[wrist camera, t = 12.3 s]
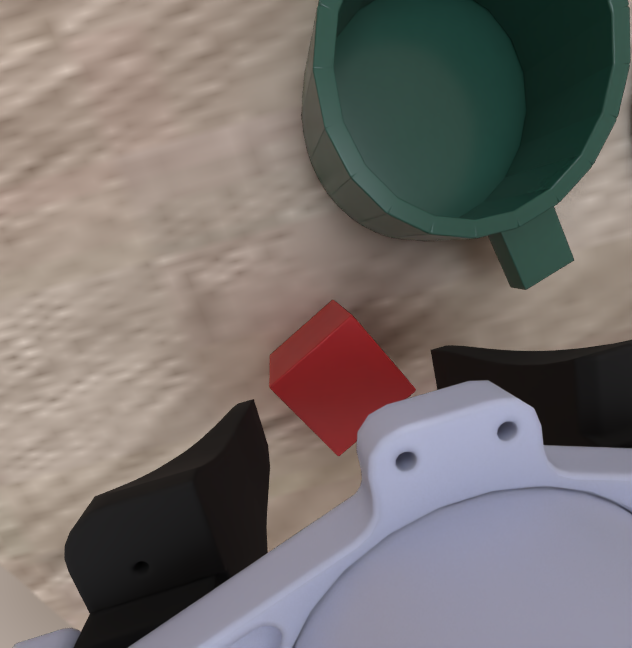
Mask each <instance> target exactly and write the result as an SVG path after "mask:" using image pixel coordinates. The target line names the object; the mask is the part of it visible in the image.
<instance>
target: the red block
mask: <svg viewBox="0 0 632 648" xmlns="http://www.w3.org/2000/svg"><path fill="white" fill-rule="evenodd" d="M269 387H270V389H271V390H272V391H273V392H274V393H275V394H276V395H277V396H278V397H279V398H280V399H281V400H282V401H283V402H284V403H285V404H286V405H287V406H288V407H289V408H290V409H291V410H292V411H293V412H294V413H295V414H296V415H297V416H298V417H299V418H300V419H301V420H302V421H303V422H304V423H305V424H306V425H307V426H308V427H309V428H310V429H311V430H312V431H313V432H314V433H315V434H316V435H317V436H318V437H319V438H320V439H321V440H322V441H323V442H324V443H325V444H326V445H327V446H328V447H329V448H330V449H331V450H332V451H333V452H334V453H335V454H336V455H337V456H340V455H341V454H342V453H344V452H345V451H346V450H347V449H348V448H349V447H351V446H352V445H353V444H354V443H355V442H356V441H357V432H358V430H359V429H360V427H361V426H362V424H363V423H364V421H365V419H366V418H367V416H368V415H369V414H371V413H373V412H374V411H376V410H378V409H380V408H381V407H383V406H385V405H387V404H390V403H394V402H397V401H401V400H404V399H407V398H408V397H409V396H410V395H411V394H413V393H414V392H415V391H416V389H415V387H414V386H413V385H412V384H411V383H410V382H409V380H408V379H407V378H406V377H405V376H404V375H403V373H402V372H401V371H400V370H399V369H398V368H397V366H396V365H395V364H394V363H393V362H392V361H391V359H390V358H389V357H388V356H387V355H386V354H385V352H384V351H383V350H382V349H381V348H380V347H379V345H378V344H377V343H376V342H375V341H374V340H373V338H372V337H371V336H370V335H369V334H368V333H367V332H366V330H365V329H364V328H363V327H362V326H361V325H360V323H359V322H358V321H357V320H356V319H355V318H354V316H353V315H351V314H350V313H349V312H348V311H347V310H345V309H344V308H343V307H342V306H341V305H339V304H338V303H337V302H336V301H335V300H332V301H331V302H329V303H328V304H327V305H326V306H325V307H324V308H323V309H321V310H320V311H319V312H318V313H317V314H316V315H315V316H314V317H312V318H311V319H310V320H309V321H308V322H307V323H306V324H304V325H303V326H302V327H301V328H300V329H299V330H298V331H297V332H295V333H294V334H293V335H292V336H291V337H290V338H289V339H287V340H286V341H285V342H284V343H283V344H282V345H281V346H279V347H278V348H277V349H276V350H275V351H274V352H273V353H272V354H270V378H269Z"/></svg>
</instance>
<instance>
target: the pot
mask: <svg viewBox="0 0 632 648" xmlns="http://www.w3.org/2000/svg"><path fill="white" fill-rule="evenodd" d="M628 5H629V3H628V0H319V2H318V7H317V11H316V16H315V21H314V26H313V32H312V37H311V42H310V47H309V53H308V58H307V63H306V68H305V73H304V87H303V95H302V114H301V116H302V123H303V133H304V138H305V143H306V148H307V151H308V154H309V157H310V160H311V163H312V166H313V168H314V170H315V172H316V174H317V176H318V178H319V180H320V182H321V184H322V185H323V187H324V188H325V190H326V191H327V193H328V194H329V196H330V197H331V198H332V199H333V200H334V202H335V203H336V204H337V205H338V206H339V207H340V208H341V209H342V210H343V211H344V212H345V213H346V214H347V215H348V216H349V217H351V218H352V219H354V220H355V221H357V222H358V223H359V224H361V225H362V226H364V227H366V228H368V229H370V230H372V231H374V232H377V233H379V234H382V235H385V236H388V237H391V238H398V239H404V240H418V241H438V240H459V239H476V238H480V237H485V236H488V237H489V239H490V242H491V244H492V246H493V248H494V251H495V253H496V255H497V257H498V260H499V262H500V264H501V266H502V269H503V271H504V273H505V275H506V278H507V280H508V282H509V284H510V287H511V288H518V289H524V290H527V289H528V288H530V287H532V286H533V285H535V284H536V283H538V282H540V281H541V280H543V279H545V278H546V277H548V276H549V275H551V274H553V273H554V272H556V271H558V270H559V269H561V268H562V267H564V266H566V265H567V264H569V263H571V262H572V261H574V258H573V255H572V253H571V250H570V248H569V245H568V242H567V240H566V237H565V235H564V232H563V229H562V227H561V224H560V222H559V219H558V216H557V214H556V211H555V208H554V206H555V205H557V204H558V203H559V202H560V201H561V200H562V199H563V198H564V197H565V196H566V195H567V194H568V193H569V192H570V190H571V189H572V188H573V187H574V186H575V185H576V184H577V183H578V182H579V180H580V179H581V178H582V177H583V176H584V175H585V174H586V173H587V172H588V171H589V169H590V168H591V167H592V165H593V164H594V163H595V161H596V159H597V157H598V155H599V153H600V151H601V149H602V147H603V145H604V143H605V141H606V139H607V137H608V135H609V134H610V132H611V130H612V128H613V126H614V124H615V122H616V118H617V117H618V114H619V109H620V105H621V101H622V97H623V92H624V88H625V84H626V80H627V75H628V71H629V67H630V65H629V63H630V8H629V7H627V6H628Z"/></svg>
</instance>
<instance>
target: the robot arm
mask: <svg viewBox="0 0 632 648" xmlns="http://www.w3.org/2000/svg"><path fill="white" fill-rule="evenodd" d="M431 355H432V361H433V366H434V372H435V378H436V384H437V390H436V391H432V392H429V393H425V394H422V395H418V396H415V397H411V398H408V399H404V400H401V401H397V402H394V403H390V404H387V405H385V406H383V407H381V408H380V409H378V410H376V411H374V412H373V413H371V414H369V415H368V416H367V418H366V419H365V421H364V423H363V424H362V426H361V427H360V429H359V430H358V432H357V455H358V459H359V463H360V467H361V473H362V481H361V486H360V487H359V489H358V491H357V492H356V493H355V494H354V495H353V496H351V497H350V498H348V499H347V500H345V501H344V502H342V503H341V504H339V505H338V506H336V507H335V508H333V509H332V510H330V511H329V512H328V513H326V514H325V515H323V516H322V517H320V518H319V519H317V520H316V521H314V522H313V523H311V524H310V525H308V526H307V527H305V528H304V529H302V530H301V531H299V532H298V533H296V534H295V535H293V536H292V537H291V538H289V539H288V540H286V541H285V542H283V543H282V544H280V545H279V546H277V547H276V548H274V549H273V550H271V551H270V552H267V531H266V525H267V504H268V490H269V474H270V462H269V451H268V444H267V441H266V437H265V434H264V431H263V428H262V424H261V421H260V418H259V415H258V412H257V408H256V405H255V402H254V399H253V400H249V401H246V402H242V403H238V404H237V405H236V406H234V407H233V408H232V409H231V410H230V411H229V412H228V413H227V414H226V415H225V416H224V417H223V419H222V420H221V421H220V422H219V423H218V424H217V425H216V426H215V427H214V428H212V429H211V430H210V431H209V432H208V433H207V434H206V435H205V436H204V437H203V438H202V439H200V440H199V441H198V442H197V443H196V444H194V445H193V446H192V447H190V448H189V449H188V450H186V451H185V452H184V453H182V454H181V455H179V456H178V457H176V458H175V459H173V460H171V461H170V462H168V463H166V464H165V465H163V466H162V467H160V468H158V469H156V470H154V471H153V472H151V473H149V474H147V475H145V476H143V477H141V478H139V479H137V480H134V481H132V482H130V483H128V484H125V485H123V486H120V487H118V488H115V489H113V490H110V491H108V492H105V493H103V494H100V495H98V496H95V497H94V499H93V500H92V501H91V503H90V504H89V506H88V507H87V509H86V510H85V511H84V513H83V514H82V516H81V517H80V519H79V520H78V521H77V523H76V524H75V526H74V527H73V529H72V530H71V531H70V533H69V536H68V538H67V541H66V544H65V562H66V565H67V568H68V571H69V573H70V575H71V577H72V579H73V581H74V583H75V585H76V587H77V589H78V591H79V593H80V595H81V597H82V599H83V601H84V603H85V605H86V607H87V609H88V611H89V613H90V615H89V617H88V619H87V621H86V623H85V625H84V627H83V629H82V631H81V632H80V631H79V630H77V629H74V628H65V629H60V630H57V631H54V632H51V633H48V634H44V635H41V636H38V637H35V638H32V639H28V640H25V641H22V642H19V643H16V644H15V645H14V646H13V648H632V340H629V341H624V342H619V343H614V344H608V345H601V346H595V347H588V348H579V349H568V350H556V351H510V350H496V349H485V348H476V347H467V346H453V345H451V346H443V347H439V348H436V349H432V350H431Z"/></svg>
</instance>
